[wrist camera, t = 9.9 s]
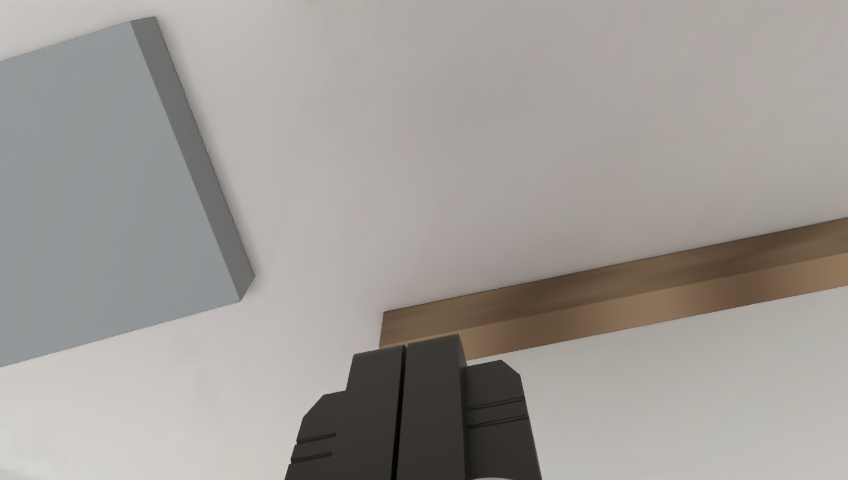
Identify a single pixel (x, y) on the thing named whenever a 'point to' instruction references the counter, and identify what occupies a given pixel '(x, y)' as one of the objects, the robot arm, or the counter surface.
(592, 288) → the wooden frame
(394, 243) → the counter surface
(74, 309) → the cover plate
